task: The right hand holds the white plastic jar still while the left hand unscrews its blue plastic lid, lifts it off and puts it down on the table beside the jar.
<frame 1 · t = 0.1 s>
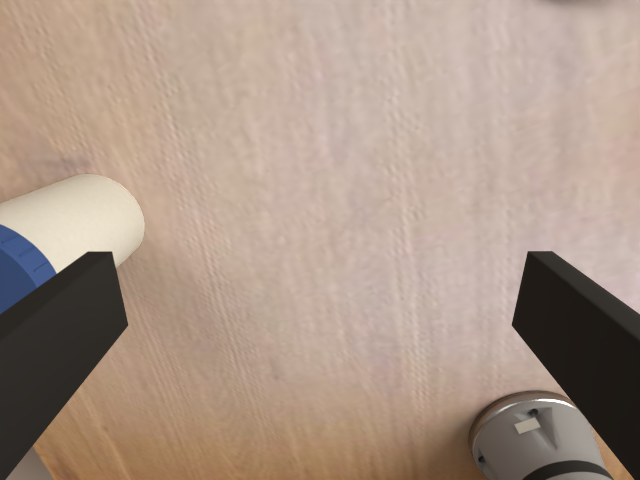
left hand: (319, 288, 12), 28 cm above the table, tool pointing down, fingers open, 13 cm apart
jar: (98, 219, 41), on the table
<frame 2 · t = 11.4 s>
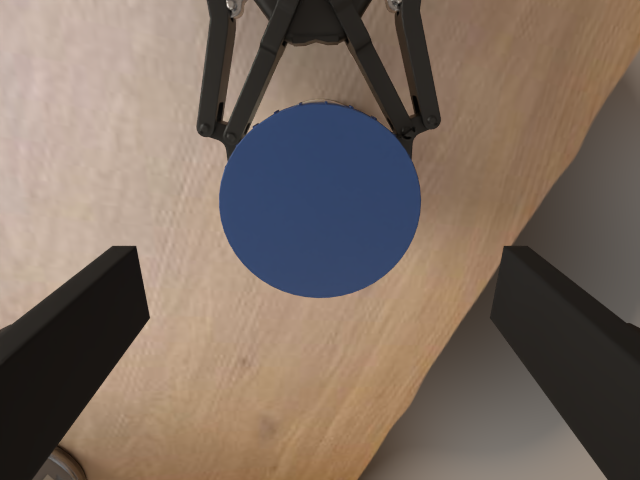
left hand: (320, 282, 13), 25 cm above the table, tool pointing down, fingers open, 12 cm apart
right hand: (321, 223, 31), fingers closed on jar, 10 cm apart
lid: (319, 208, 21), point 16 cm above the table, screwed on, not yet turned
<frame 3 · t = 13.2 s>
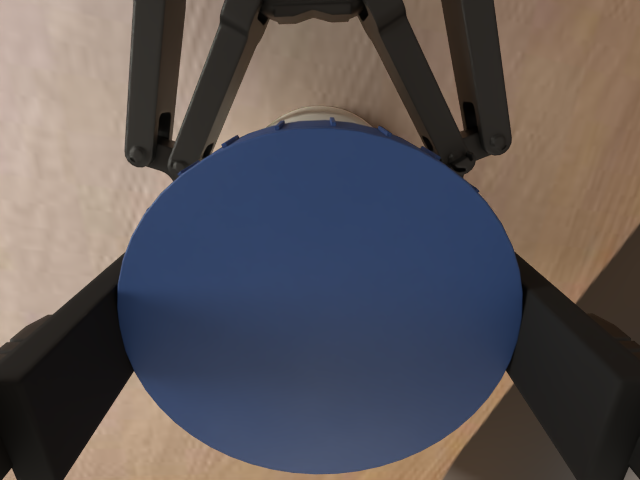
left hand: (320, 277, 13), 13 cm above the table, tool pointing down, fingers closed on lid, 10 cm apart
right hand: (322, 289, 21), fingers closed on jar, 10 cm apart
lid: (319, 327, 11), point 16 cm above the table, screwed on, not yet turned, touching left hand
jar: (319, 183, 26), on the table, touching right hand
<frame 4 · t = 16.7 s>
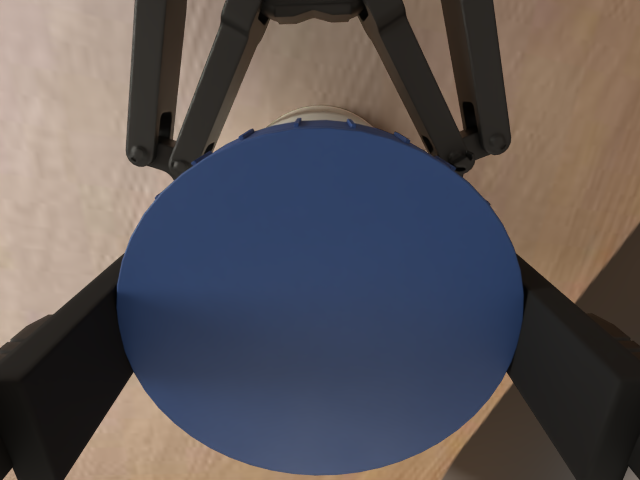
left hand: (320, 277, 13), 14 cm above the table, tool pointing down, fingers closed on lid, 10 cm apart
right hand: (322, 288, 21), fingers closed on jar, 10 cm apart
lid: (320, 327, 10), point 17 cm above the table, turned 120° so far, risen 0.1 cm, still on its thread, touching left hand
jar: (320, 183, 26), on the table, touching right hand
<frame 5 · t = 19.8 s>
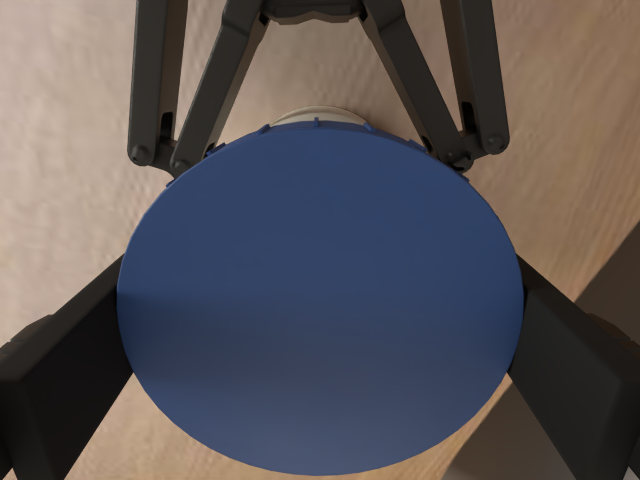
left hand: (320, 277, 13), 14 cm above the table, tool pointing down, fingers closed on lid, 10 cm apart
right hand: (322, 287, 21), fingers closed on jar, 10 cm apart
lid: (320, 328, 10), point 17 cm above the table, turned 240° so far, risen 0.3 cm, still on its thread, touching left hand
jar: (320, 182, 26), on the table, touching right hand
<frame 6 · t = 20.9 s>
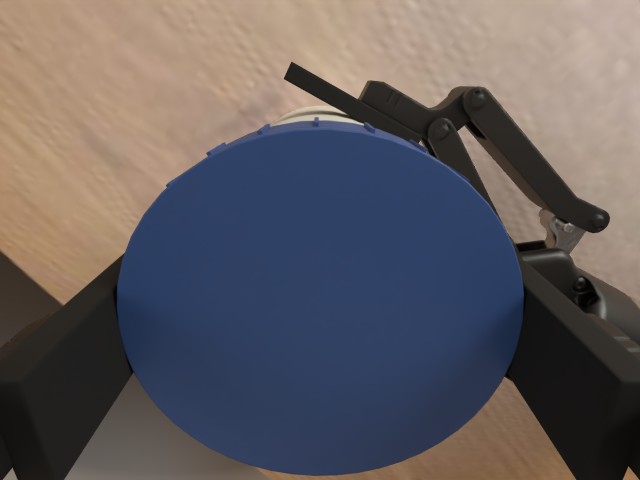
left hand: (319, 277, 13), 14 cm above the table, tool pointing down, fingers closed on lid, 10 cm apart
right hand: (243, 174, 19), fingers closed on jar, 10 cm apart
lid: (320, 328, 10), point 17 cm above the table, off its thread, touching left hand
jar: (320, 182, 26), on the table, touching right hand
when the left hand's fingers open (0 cm above the table, at t = 26.9 s): lid drops 2 cm, point 2 cm above the table.
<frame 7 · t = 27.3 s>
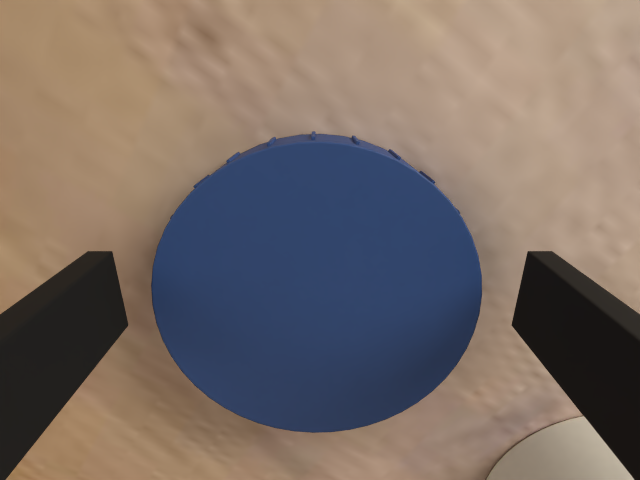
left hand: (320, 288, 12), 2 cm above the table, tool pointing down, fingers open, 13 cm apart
lid: (317, 303, 13), point 2 cm above the table, off its thread
when the right hand's fingers open (7 cm above the table, at t = 27.9 s): jar stays where it is, on the table.
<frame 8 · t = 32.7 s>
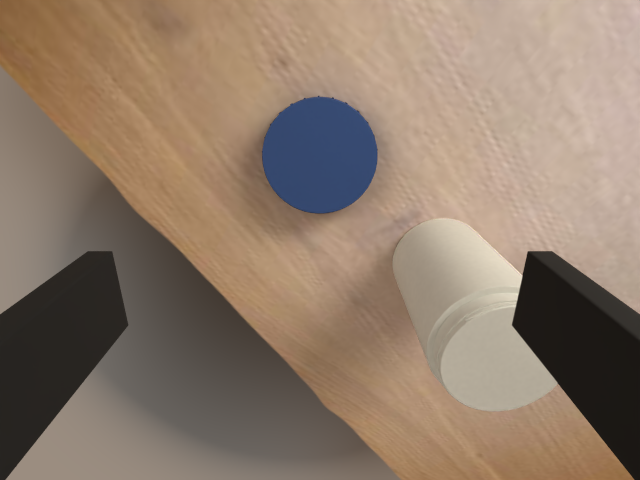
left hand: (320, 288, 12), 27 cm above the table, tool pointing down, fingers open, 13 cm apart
lid: (319, 158, 36), point 2 cm above the table, off its thread
jar: (438, 261, 42), on the table
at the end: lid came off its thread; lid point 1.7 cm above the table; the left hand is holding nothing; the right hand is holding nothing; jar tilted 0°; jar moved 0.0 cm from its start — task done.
